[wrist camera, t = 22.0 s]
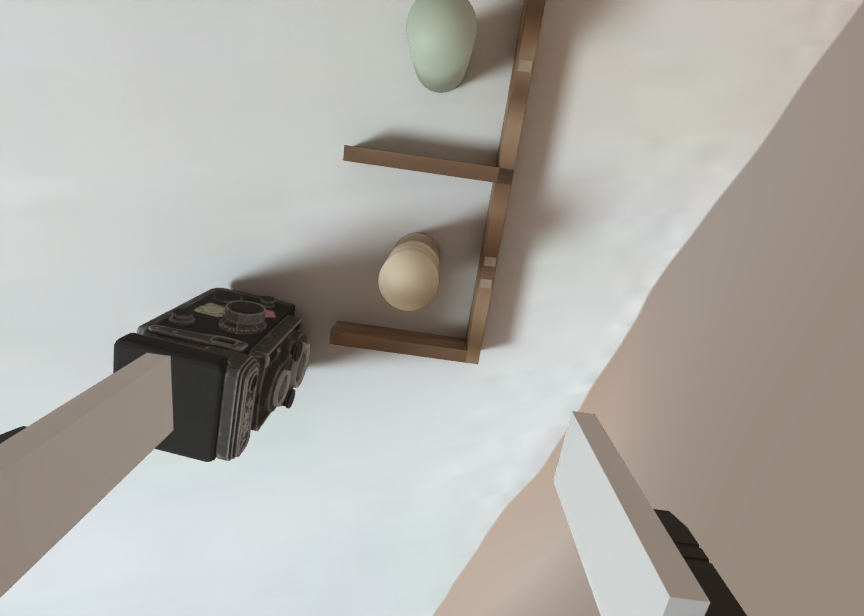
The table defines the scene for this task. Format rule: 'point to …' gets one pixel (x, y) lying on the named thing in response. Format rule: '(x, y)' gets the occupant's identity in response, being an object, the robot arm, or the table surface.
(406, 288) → the beech post
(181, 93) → the table surface
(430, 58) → the sage post
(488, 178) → the rack
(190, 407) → the camera
